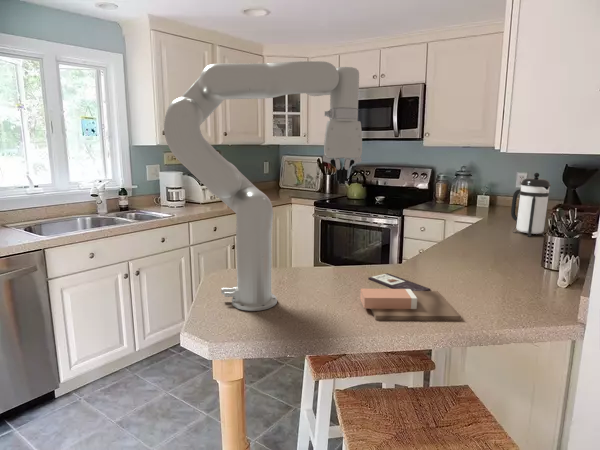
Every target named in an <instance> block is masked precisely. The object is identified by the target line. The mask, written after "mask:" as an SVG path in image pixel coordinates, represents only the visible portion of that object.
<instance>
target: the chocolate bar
mask: <svg viewBox="0 0 600 450" xmlns="http://www.w3.org/2000/svg"><path fill="white" fill-rule="evenodd" d="M368 280H369V281H372V282H373V283H377V284H379V285H382V286H384V287H387V288H388V289H411V291H432V290H431V288H430V287H426V286H424V285H421V284H418V283H415V282H413V281H410V280H407V279H404V278H401V277H399V276H396V275H394V274H391V273H384V274H378V275H374V276H370V277H368Z"/></svg>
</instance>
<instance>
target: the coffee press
mask: <svg viewBox="0 0 600 450" xmlns="http://www.w3.org/2000/svg"><path fill="white" fill-rule="evenodd" d="M533 176H534V177H526V178H524V179H523V180H522V181H521V182H520V189H516V190H515V191H514V193H513V196H512V199H511V200H512V201H511V208H510V209H511V211H510V215H511V218H512V219H513V220H514V221H516V223H515V227H514V228H513V229H512V233H514V234H516V233H518V232H521V233H526V234H527V237H528V238H531V237H532V234H533V235H534V234H536V235H537V234H542V235H543V232H546V228H545V227H546V220H547V216H548V215H547V214H548V208H549V207H548V206H549V199H550V187H552V184H551V183H550V181H549V180H548V179H545V178H541V177H539V176H540V174H539V172H536V173H534V174H533ZM518 196H519V197H518ZM517 198H518V199H517ZM517 200H518V201H517ZM517 202H518V205H517ZM516 208H517V209H516ZM516 210H517V214H516ZM515 229H516V230H515ZM514 230H515V231H514Z"/></svg>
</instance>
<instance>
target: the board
mask: <svg viewBox="0 0 600 450" xmlns="http://www.w3.org/2000/svg"><path fill="white" fill-rule="evenodd" d="M412 292H413V293H414V295H415V296H416V297H417V308H416V309H370V311H371V313H372V316H373V317H374V318H373V319H374V320H375V321H461V319H462V316H461V314H460V313H459V312H458V311H457V310H456V308H454V307H453V306H452V305H451V304H450V302H448V300H447V299H446V298H445V297H444V296H443V295H442V294H441V292H440V291H438V290H430V291H412Z"/></svg>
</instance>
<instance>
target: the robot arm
mask: <svg viewBox="0 0 600 450" xmlns="http://www.w3.org/2000/svg"><path fill="white" fill-rule="evenodd" d="M359 88H360V72H359V69H357V68H356V67H352V66H339V67H336V66H334V64H332V63H330V62H327V61H324V60H322V61H321V60H319V61H318V60H317V61H307V60H306V61H303V60H302V61H301V60H300V61H286V62H265V63H264V62H259V63H258V62H257V63H256V62H255V63H254V62H253V63H252V62H251V63H239V62H238V63H237V62H235V63H233V62H232V63H228V62H227V63H225V62H224V63H222V62H221V63H212V64H208V65H207V66H205V67H204V68H203V69H202V71H201V73H200V76H199V77H198V78H197V80H195V82H194V83H193V84H191V86H190V87H189V88H188V89H187V90H186V91H185V92H184V93H183V94H182V95H181V96H179V97H178V98H175V99H173V100H172V101H171V102H170V104H169V105H168V107H167V110H166V113H165V116H164V120H163V121H164V123H163V131H164V132H163V133H164V138H165V140H166V145H167V146H168V148H169V150H170V152H171V153H172V155H173V156H174V157H175V159H177V161H178V162H179V163H181V165H182V166H184V167H185V168H186V169H187V170H188V171H189V172H190V173H191V175H193V176H194V177H195V178H196V179H197V180H198V181H199V182H201V184H203V186H204V187H206V189H207V190H208V191H209V192H210V193H211V194H212V195H213V196H215V197H217V198H218V199H219V200H220V201H222V203H224V204H225V205H226V206H227V207H228V208H229V209H230V210H232V211H233V212H234V213H235V218H236V219H235V220H236V226H235V227H236V230H235V231H236V232H235V240H236V241H235V245H236V246H235V249H236V286H233V287H221V290H220V291H221V295H224V297H225V298H230V297H231V305H232V306H233V307H234V308H236V309H238V310H240V311H241V310H242V311H246V312H248V311H249V312H256V311H257V312H258V311H264V310H268V309H271V308H274V307H275V306H276V304H277V302H278V297H277V296H276V295H275V294H274V293H272V234H273V233H272V232H273V219H274V210H273V204H272V201H271V199H270V198H269V197H268V196H267V194H265V193H264V192H263V191H262V190H260V189H259V188H258V187H256V185H254V184H253V182H251V181H250V180H249V179H248V178H247V177H246V176H245V175H244V174H243V173H242V172H241V171H240V170H239V169H238V168H237V166H235V165H234V164H233V163H232V162H230V161H228V159H226V158H225V157H223V155H222V154H221V153H220V152H218V151H217V150H216V149H215V147H213V146H212V145H211V143H210V142H208V141H207V140H206V139H205V138H204V136H203V133H202V132H201V125H202V124H203V123H204V122H205V121H206V120H207V119H208V118H209V116H211V114H213V113H214V111H215V110H216V109H217V108H218V107H219V106H220V105H221V104H222V103H223V101H224V100H252V99H254V100H260V99H261V100H262V99H264V100H265V99H272V98H278V97H281V96H286V95H287V96H288V95H298V94H300V95H301V94H306V95H307V96H311V97H320V96H321V97H322V96H323V97H324V96H329V97H330V99H329V101H330V102H329V110H326V111H325V110H324V117H327V118H329V120H327V121H326V125H325V133H324V142H323V156H322V162H323V163H327V164H331V165H332V166H333V167H334V168H335V170H336V171H335V182H336V181H337V183H338V185H345V184H346V182H347V181H348V171H349V169H350V168H351V167H352V166H353V165H355V164H359V163H362V161H363V160H362V159H363V158H362V155H363V135H362V134H363V133H362V131H363V130H362V123H361V121H360V120H359V121H358V118H359V117H358V115H359V92H360V91H359ZM340 159H344V163H343V166H342V167H341V161H340Z"/></svg>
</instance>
